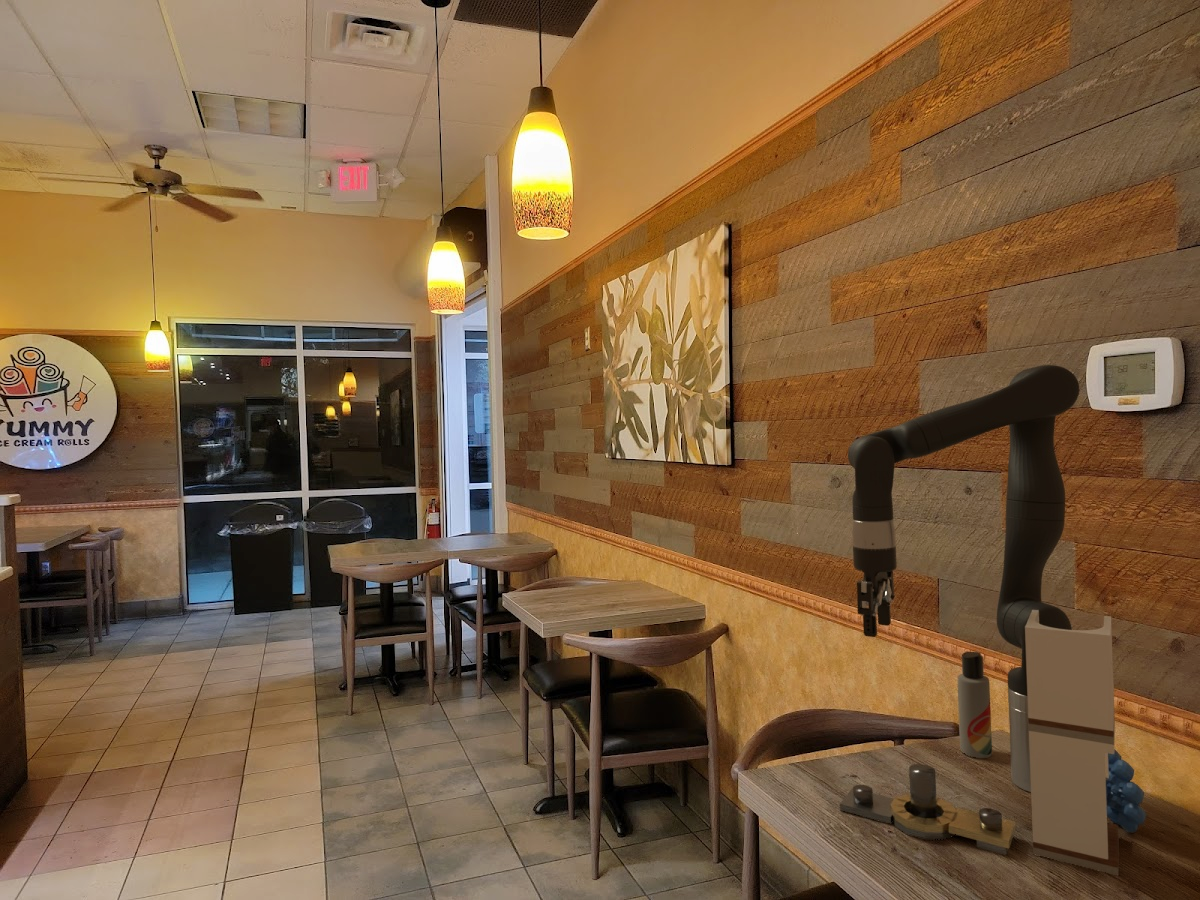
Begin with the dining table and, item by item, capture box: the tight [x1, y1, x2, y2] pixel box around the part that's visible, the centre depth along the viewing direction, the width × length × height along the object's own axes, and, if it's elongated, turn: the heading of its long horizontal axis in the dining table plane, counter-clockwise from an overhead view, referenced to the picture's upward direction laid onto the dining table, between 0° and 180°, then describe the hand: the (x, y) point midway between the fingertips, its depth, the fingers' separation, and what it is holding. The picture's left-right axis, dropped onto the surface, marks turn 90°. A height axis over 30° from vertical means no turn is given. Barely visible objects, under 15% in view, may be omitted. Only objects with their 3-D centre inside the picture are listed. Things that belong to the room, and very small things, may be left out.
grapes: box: [1106, 748, 1147, 834], centre depth 120 cm, size 12×7×12 cm, turn 178°
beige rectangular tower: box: [1025, 610, 1120, 877], centre depth 115 cm, size 11×11×35 cm
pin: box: [908, 763, 937, 818], centre depth 124 cm, size 4×4×9 cm
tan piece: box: [839, 784, 1017, 856], centre depth 124 cm, size 10×26×4 cm, turn 53°
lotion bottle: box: [956, 651, 993, 759], centre depth 148 cm, size 6×6×20 cm
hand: (877, 630), depth 138 cm, fingers open, 8 cm apart
